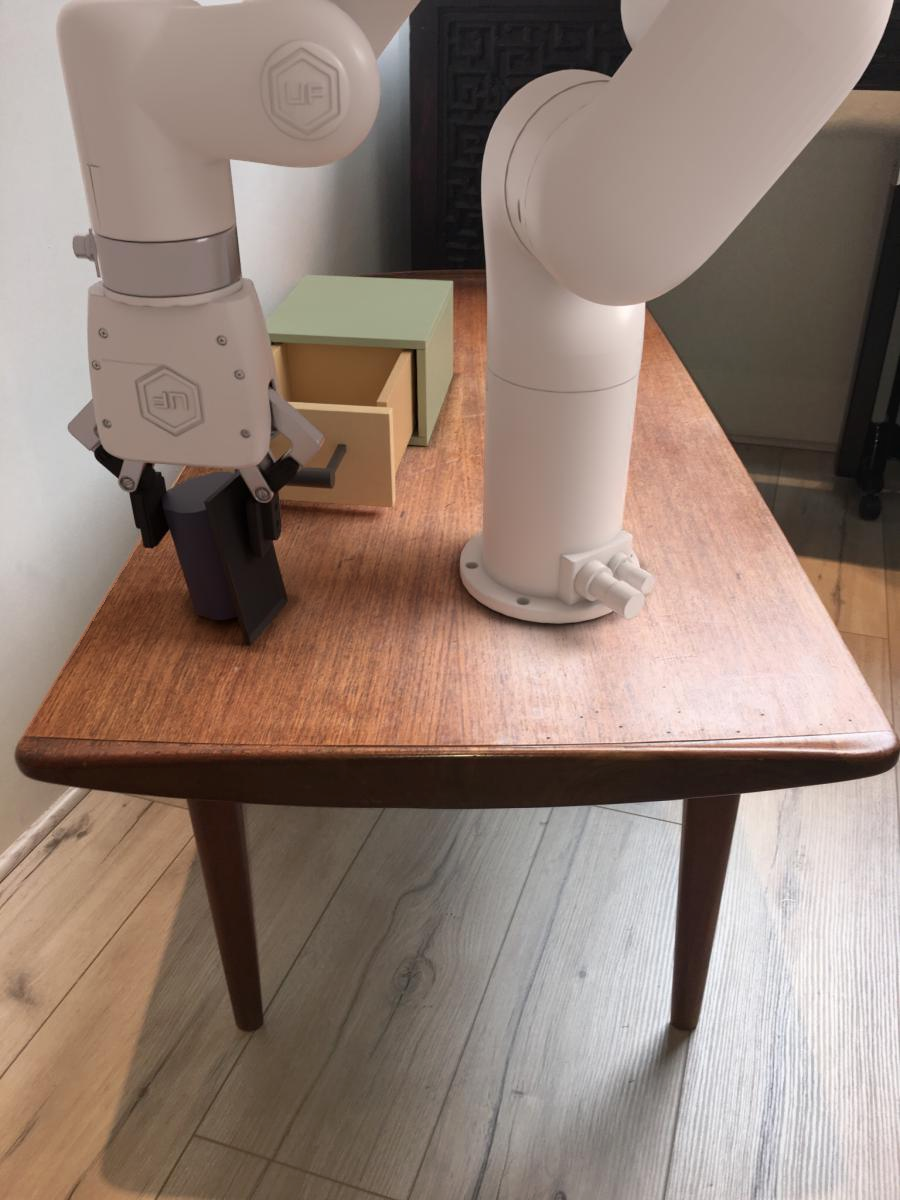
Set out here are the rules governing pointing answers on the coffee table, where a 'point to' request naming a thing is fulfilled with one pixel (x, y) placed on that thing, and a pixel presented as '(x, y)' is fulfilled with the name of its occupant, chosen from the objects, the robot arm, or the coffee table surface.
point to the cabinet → (378, 327)
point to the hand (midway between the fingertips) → (210, 540)
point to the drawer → (348, 419)
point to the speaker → (223, 553)
